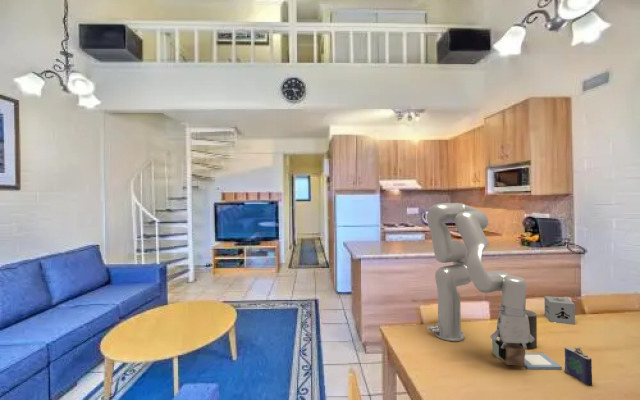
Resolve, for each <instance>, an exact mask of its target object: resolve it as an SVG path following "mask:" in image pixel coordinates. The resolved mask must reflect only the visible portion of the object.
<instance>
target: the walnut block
mask: <svg viewBox="0 0 640 400" xmlns="http://www.w3.org/2000/svg"><path fill="white" fill-rule="evenodd" d="M505 349H506V359H505V360H503V359H501V360H502V361H503V362H504V363H505V364H506V365H507V366H509V365H510V366H511V365H512V366H513V365H514V366H523V365H524V360H525V353H526V349H524V348H523V347H522V346H521V345H520V344H519V343H506V346H505ZM499 356H500V355H499ZM500 357H501V356H500Z"/></svg>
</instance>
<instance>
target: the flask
mask: <svg viewBox="0 0 640 400" xmlns="http://www.w3.org/2000/svg"><path fill="white" fill-rule="evenodd" d="M581 349H582V347H580V346H579V347H574V348H572V347H570V346H565V347H564V372H565V373H566V374H567V375H569V376H571V378H573V379H576V380H578V382H581V383H582V384H584V385H585V386H588V387H592V386H593V371H592V369H593V368H592V365H593V364H592V363H593V362H592V361H593V360H592V358H591V357H590V356H588V355H587V354H585V353H584V352H583V350H581Z"/></svg>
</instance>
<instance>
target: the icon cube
mask: <svg viewBox="0 0 640 400" xmlns="http://www.w3.org/2000/svg"><path fill="white" fill-rule="evenodd" d="M544 316H545V317H546V319H547V320H548V321H549V322H550V323H554V322H556V324H565V325H573V326H574V325H576V304H575V303H574V302H573V301H572V300H571V299H570V298H569V297H560V296H549V295H544Z"/></svg>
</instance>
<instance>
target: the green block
mask: <svg viewBox="0 0 640 400" xmlns="http://www.w3.org/2000/svg"><path fill="white" fill-rule="evenodd" d="M499 339H500V337H497V340H498V341H499ZM491 346H492V347H491V348H492V349H491V351H492V354H493V355H494V356H495V357H496V358H497V359H498V360H502V358H501V357H500V356H499V345H498V344H497V343H496V342H495V341H494V340H492V339H491Z"/></svg>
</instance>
